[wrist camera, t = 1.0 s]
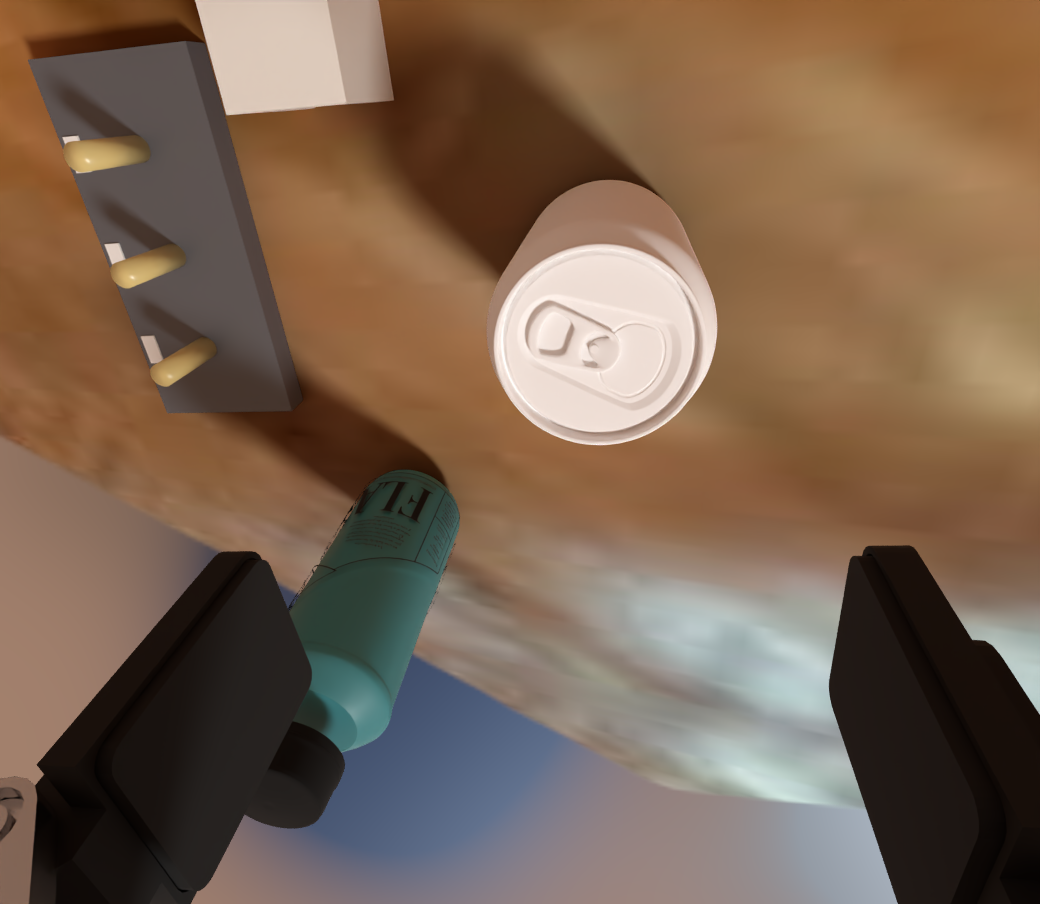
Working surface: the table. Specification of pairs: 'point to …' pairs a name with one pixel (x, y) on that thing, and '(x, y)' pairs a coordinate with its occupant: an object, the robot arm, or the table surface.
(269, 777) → the beverage bottle
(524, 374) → the beverage can
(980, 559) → the table surface
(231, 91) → the white rectangular block
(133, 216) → the header
